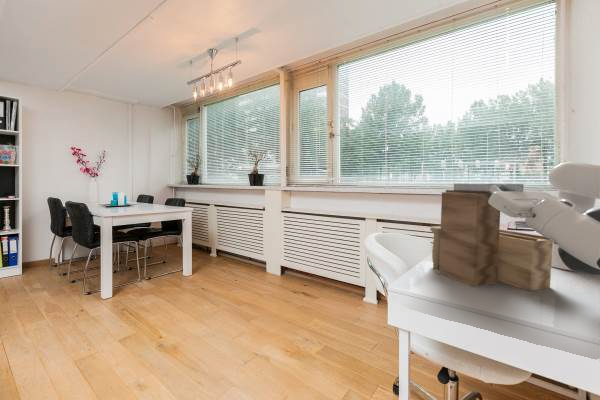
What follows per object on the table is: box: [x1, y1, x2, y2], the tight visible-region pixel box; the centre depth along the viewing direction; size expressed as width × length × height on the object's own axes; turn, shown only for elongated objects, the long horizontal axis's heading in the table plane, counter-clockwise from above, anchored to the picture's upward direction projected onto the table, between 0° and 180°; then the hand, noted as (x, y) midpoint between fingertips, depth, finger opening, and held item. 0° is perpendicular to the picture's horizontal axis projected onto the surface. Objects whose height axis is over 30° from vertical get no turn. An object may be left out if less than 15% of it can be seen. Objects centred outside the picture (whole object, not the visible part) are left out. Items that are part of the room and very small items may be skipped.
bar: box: [453, 182, 525, 194], centre depth 88 cm, size 3×20×3 cm, turn 20°
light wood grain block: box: [497, 228, 553, 292], centre depth 92 cm, size 9×15×15 cm, turn 20°
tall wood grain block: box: [438, 189, 501, 288], centre depth 94 cm, size 10×13×29 cm
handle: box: [430, 225, 441, 270], centre depth 105 cm, size 5×6×15 cm
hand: (500, 187), depth 84 cm, fingers open, 5 cm apart
